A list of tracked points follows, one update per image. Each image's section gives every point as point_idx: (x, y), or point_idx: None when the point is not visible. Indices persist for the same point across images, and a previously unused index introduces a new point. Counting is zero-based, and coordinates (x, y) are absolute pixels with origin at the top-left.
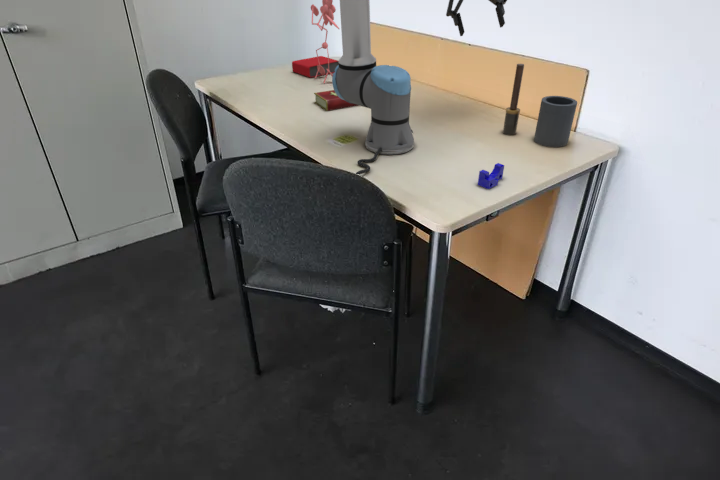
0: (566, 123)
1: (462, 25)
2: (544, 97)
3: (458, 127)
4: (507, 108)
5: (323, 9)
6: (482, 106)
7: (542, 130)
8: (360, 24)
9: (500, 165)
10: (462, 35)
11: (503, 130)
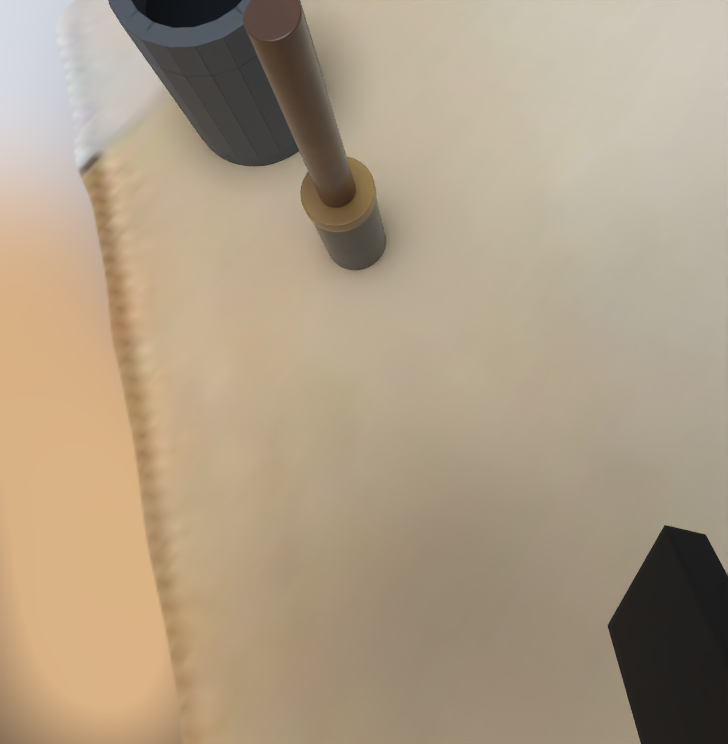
0: None
1: (721, 626)
2: (221, 32)
3: (546, 398)
4: (357, 211)
5: None
6: (230, 647)
7: (313, 46)
8: None
9: None
10: (615, 619)
11: (383, 245)
